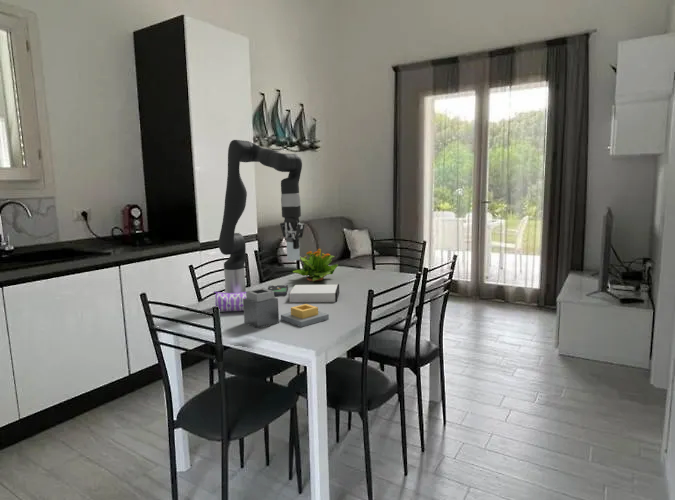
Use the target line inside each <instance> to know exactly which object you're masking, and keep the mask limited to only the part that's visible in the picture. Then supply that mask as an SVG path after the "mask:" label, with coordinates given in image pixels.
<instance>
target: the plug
mask: <svg viewBox="0 0 675 500" xmlns="http://www.w3.org/2000/svg"><path fill="white" fill-rule="evenodd" d="M285 240H286V241H285V242H286V256H287V257H286V259H287V261H292V262H293V261H295V262H296V261H300V260H301V259H300V257H301V252H300V248H299V249H294V248H293V240H294V239H293V236H292V237H288V238H286V237H285Z"/></svg>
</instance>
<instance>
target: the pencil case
mask: <svg viewBox="0 0 675 500" xmlns="http://www.w3.org/2000/svg"><path fill="white" fill-rule="evenodd" d="M246 292H247V291H246ZM246 292H241V293H225V292H221V291H215V290H213V293H214V294H215V303H214V304H215V307H216V306H218V307H219V309H220V312H219V313H222V312H223V313H224V312H240V311H241V312H244V305H243V299H245V298H247V297H246Z"/></svg>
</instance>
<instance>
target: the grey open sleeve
mask: <svg viewBox="0 0 675 500" xmlns="http://www.w3.org/2000/svg"><path fill="white" fill-rule="evenodd" d="M246 297H247V298H245V299H243V305H244V311H243V319H244V322H243V323H244V324H247V325H248V324H249V326H251V327H253V328H256V329H261V328H264V327H268V326H272V325H276V324H279V323H280V319H279V318H280V316H279V315H280V312H279V298H278V297H276V296H274V291H271V290H268V288H264V287H263V288H258V289H257V288H256V289H252V290H246Z"/></svg>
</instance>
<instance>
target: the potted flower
mask: <svg viewBox="0 0 675 500" xmlns="http://www.w3.org/2000/svg"><path fill="white" fill-rule="evenodd" d="M307 256H308V257H307ZM335 257H336V256H335V255H331V254H330V253H324V252H322V248H318V249H317V251H314V252H313V251H311V250H309V251H307V252H306V255H305V256H303V257H302V256H300V260H301V262H302V263H303V267H302V268H300V269H296V270H292V273H295V274H298V275H300V276H306V280H307V281H309V282H312V283H314V282H319V281H320V282H321V281H323V280H324V278H325V277H327V275H334V272H335V270H336V269H337V268H338V266H339V264H337V263H336V264H332V265H329V264H330V263H332V262H333V258H335Z"/></svg>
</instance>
